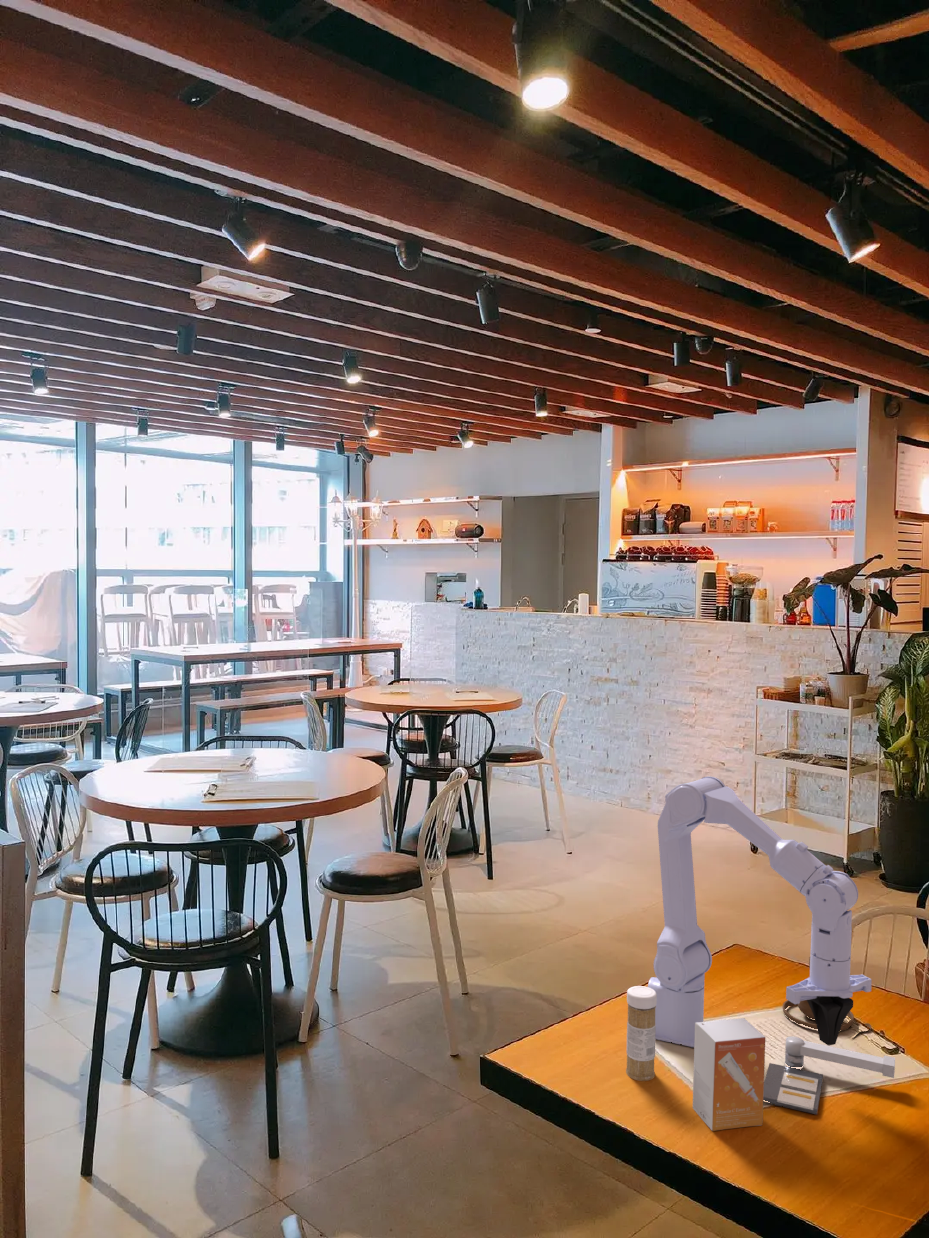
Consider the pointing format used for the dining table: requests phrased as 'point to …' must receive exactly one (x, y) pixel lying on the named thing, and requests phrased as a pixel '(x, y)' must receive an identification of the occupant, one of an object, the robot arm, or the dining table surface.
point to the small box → (728, 1073)
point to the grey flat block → (793, 1085)
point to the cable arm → (840, 1056)
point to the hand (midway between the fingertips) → (827, 1041)
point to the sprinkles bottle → (641, 1033)
